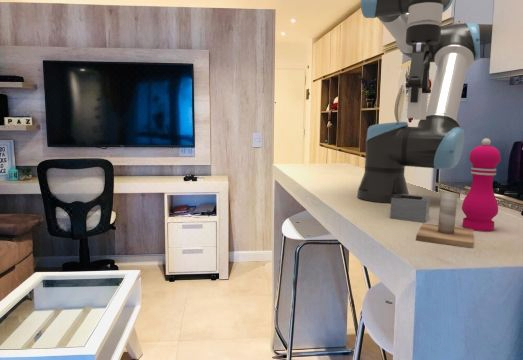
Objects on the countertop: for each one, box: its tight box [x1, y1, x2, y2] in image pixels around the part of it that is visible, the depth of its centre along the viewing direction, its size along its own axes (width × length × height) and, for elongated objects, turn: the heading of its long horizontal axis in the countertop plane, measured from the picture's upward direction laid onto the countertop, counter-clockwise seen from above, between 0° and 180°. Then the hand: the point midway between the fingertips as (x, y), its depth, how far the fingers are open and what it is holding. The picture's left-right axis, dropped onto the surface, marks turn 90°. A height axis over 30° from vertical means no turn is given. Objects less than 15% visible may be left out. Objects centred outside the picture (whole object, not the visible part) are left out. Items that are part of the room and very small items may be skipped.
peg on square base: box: [415, 191, 474, 249], centre depth 85 cm, size 12×10×9 cm
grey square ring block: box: [389, 194, 431, 223], centre depth 103 cm, size 8×8×5 cm
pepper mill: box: [461, 137, 501, 232], centre depth 93 cm, size 7×7×20 cm
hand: (416, 119), depth 101 cm, fingers open, 13 cm apart
